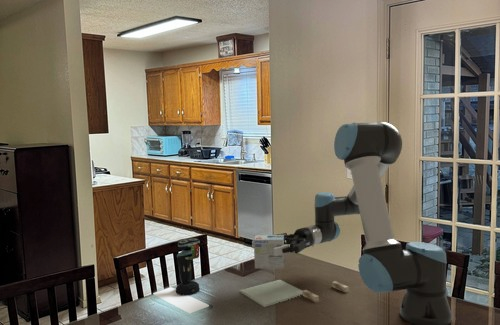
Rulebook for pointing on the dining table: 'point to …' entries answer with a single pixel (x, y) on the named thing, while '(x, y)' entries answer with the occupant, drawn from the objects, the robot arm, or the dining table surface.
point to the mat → (272, 292)
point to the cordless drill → (187, 266)
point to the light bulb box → (268, 251)
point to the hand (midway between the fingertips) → (263, 248)
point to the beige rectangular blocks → (334, 285)
